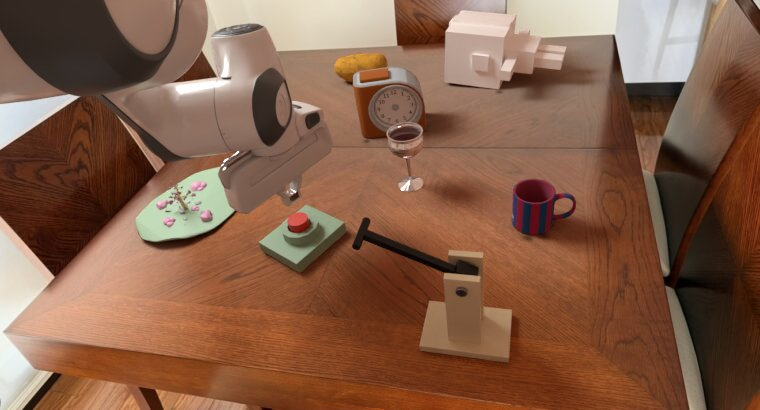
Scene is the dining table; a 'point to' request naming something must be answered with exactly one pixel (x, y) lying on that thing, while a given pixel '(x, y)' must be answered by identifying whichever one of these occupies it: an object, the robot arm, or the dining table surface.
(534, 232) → the mug
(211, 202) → the plant
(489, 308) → the bracket
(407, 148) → the wineglass
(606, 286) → the dining table surface
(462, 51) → the white voxel figure
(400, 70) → the alarm clock
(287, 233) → the button box
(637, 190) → the dining table surface
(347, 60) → the potato
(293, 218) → the button
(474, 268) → the lever
